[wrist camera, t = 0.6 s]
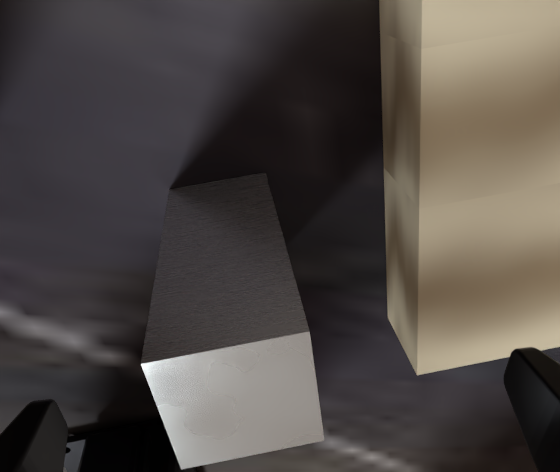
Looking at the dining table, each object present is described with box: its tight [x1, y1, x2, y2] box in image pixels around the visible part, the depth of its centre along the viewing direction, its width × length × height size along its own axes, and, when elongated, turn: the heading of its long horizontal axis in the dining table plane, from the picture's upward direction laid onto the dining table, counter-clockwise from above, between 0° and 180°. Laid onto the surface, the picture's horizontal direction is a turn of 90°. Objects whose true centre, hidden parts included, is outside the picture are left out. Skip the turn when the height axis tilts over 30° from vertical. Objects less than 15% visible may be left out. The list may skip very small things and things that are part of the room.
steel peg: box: [141, 173, 324, 470], centre depth 17 cm, size 4×4×10 cm
